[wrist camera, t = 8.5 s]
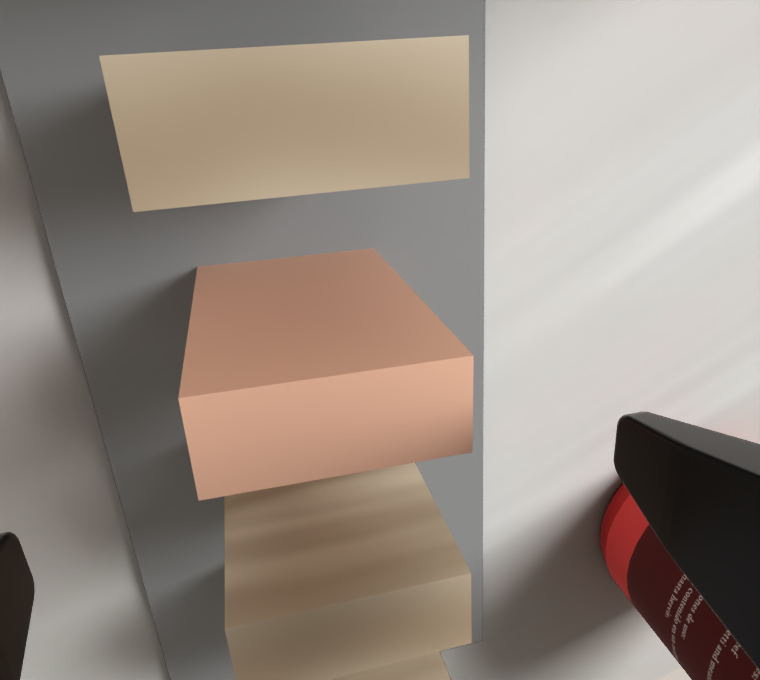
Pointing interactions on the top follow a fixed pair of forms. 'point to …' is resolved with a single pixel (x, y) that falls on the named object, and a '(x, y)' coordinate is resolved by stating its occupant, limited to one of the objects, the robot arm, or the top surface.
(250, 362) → the domino
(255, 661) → the domino
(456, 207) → the mat
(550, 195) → the top surface
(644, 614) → the canned food
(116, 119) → the domino
